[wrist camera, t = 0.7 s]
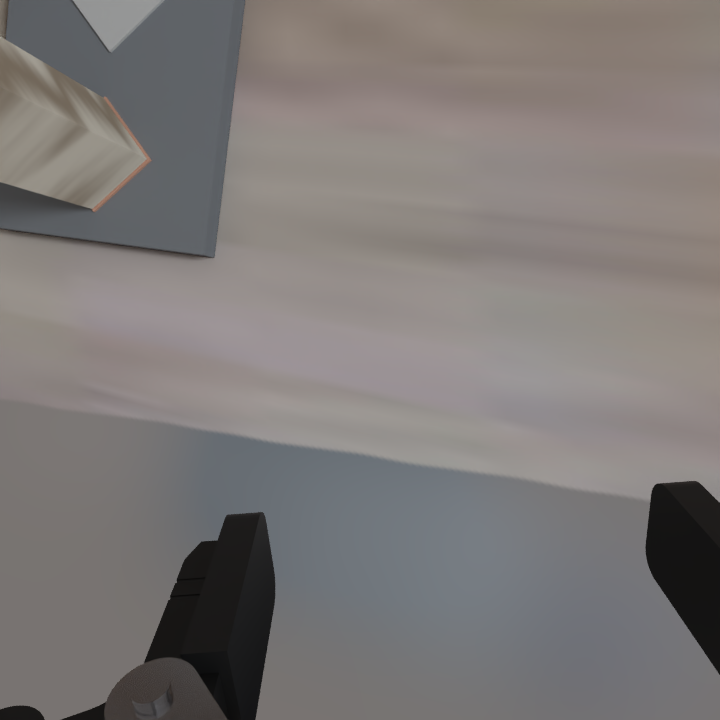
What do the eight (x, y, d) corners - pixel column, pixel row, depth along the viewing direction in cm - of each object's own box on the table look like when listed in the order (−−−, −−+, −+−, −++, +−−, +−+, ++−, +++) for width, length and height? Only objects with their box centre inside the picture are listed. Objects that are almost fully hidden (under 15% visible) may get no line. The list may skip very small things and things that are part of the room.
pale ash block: (50, 149, 39) (-137, 73, 27) (103, 97, 38) (-67, -4, 26) (92, 209, 39) (-79, 158, 27) (147, 158, 38) (-6, 83, 26)
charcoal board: (35, -97, 40) (14, -117, 38) (256, -96, 37) (244, -117, 35) (6, 229, 42) (-15, 225, 40) (214, 257, 39) (201, 254, 37)
